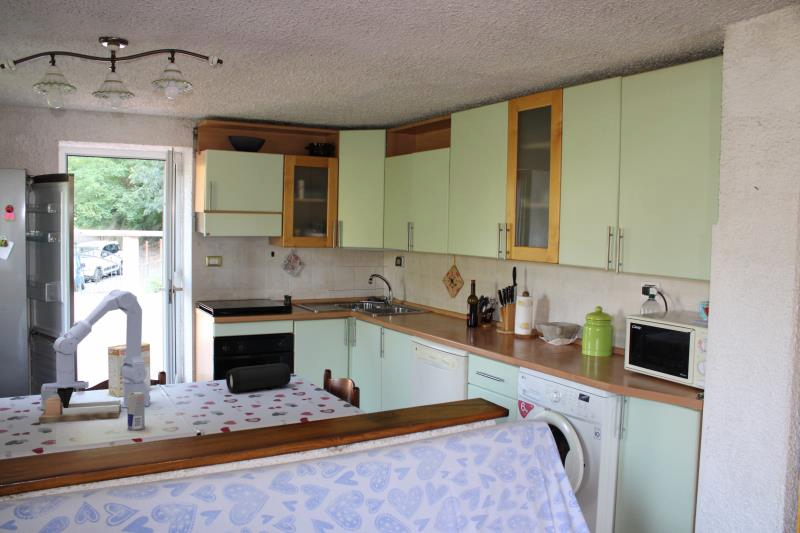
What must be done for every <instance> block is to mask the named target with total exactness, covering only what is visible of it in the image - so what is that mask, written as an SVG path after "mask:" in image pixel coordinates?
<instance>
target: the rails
mask: <svg viewBox="0 0 800 533" xmlns="http://www.w3.org/2000/svg"><path fill="white" fill-rule="evenodd" d="M120 404H121V399H120V400H101V401H100V400H99V401H86V402H85V401H84V402H69V408H63V407H62V408H63V415H67V414H83V413H99V412H115V411H119V406H120Z"/></svg>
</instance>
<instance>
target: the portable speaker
mask: <svg viewBox="0 0 800 533" xmlns="http://www.w3.org/2000/svg"><path fill="white" fill-rule="evenodd" d="M225 375H226V376H225V382H226V387H227V390H228V391H230V392H232V393H233V392H234V393H242V392H243V393H245V392H252V391H260V390H268V389H276V388H282V387H283V388H284V387H285V386H287V385H288V384H290V382H291V381H292V380H291V379H292V378H291V377H292V373H291V368H290V366H289V365H288V364H285V363H281V362H279V363H269V364H268V363H267V364H260V365H251V366H242V367H233V368H232V369H229V370H228V371H227V372H226V374H225Z"/></svg>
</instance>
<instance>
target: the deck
mask: <svg viewBox="0 0 800 533" xmlns="http://www.w3.org/2000/svg"><path fill="white" fill-rule="evenodd" d="M121 411H122V403H120V406H119V411H115V412H99V413H83V414H67V415H63V407H62V412H61V413H60V414H47V415H46V409H45V410H43V412H42V413H41V414H40V415H39V417H38V424H49V423H51V424H52V423H53V422H54V423H65V422H66V421H69V422H81V421H96V420H95V419H101V420H112V419H113V420H114V419H119V417H120V414H121ZM66 423H67V422H66Z"/></svg>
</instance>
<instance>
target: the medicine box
mask: <svg viewBox="0 0 800 533" xmlns="http://www.w3.org/2000/svg"><path fill="white" fill-rule="evenodd" d="M40 397H41V398H40V400H41V402H40V405H41V410H42V411H45V409H46V401H47V399H51V398H60V397H59V395H58V394H57V389H53V390H43V389H42V386H41V387H40ZM62 406H63V404H62Z"/></svg>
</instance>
